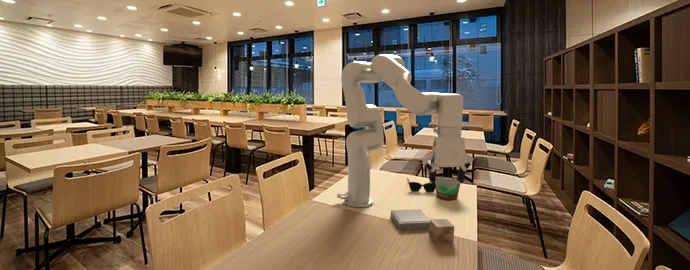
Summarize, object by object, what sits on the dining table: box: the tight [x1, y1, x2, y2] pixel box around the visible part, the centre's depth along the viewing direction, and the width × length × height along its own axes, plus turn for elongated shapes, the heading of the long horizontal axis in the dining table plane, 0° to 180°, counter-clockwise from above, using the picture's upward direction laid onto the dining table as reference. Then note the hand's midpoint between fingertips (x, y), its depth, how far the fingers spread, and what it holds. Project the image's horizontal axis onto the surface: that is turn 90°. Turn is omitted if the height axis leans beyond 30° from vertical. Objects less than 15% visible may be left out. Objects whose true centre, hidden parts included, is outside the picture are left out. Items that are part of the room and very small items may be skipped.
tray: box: [390, 208, 430, 231], centre depth 123 cm, size 12×12×3 cm
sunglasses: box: [406, 178, 436, 193], centre depth 165 cm, size 14×16×5 cm
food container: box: [435, 175, 462, 202], centre depth 147 cm, size 12×6×10 cm, turn 62°
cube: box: [428, 218, 455, 245], centre depth 110 cm, size 6×6×6 cm
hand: (446, 182), depth 110 cm, fingers open, 9 cm apart
